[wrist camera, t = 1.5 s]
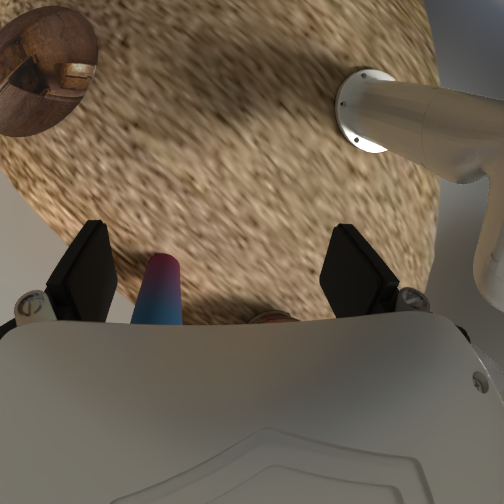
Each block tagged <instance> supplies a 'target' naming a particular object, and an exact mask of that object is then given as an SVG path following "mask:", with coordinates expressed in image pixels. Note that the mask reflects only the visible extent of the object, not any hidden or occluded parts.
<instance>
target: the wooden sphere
mask: <svg viewBox="0 0 504 504" xmlns="http://www.w3.org/2000/svg"><path fill="white" fill-rule="evenodd" d="M97 60H98V44H97V39H96V35H95V33H94V30H93V28H92V26H91V25H90V23H89V22H88V21H87V20H86V19H85V18H84V17H83V16H82V15H81V14H79V13H78V12H76V11H74V10H72V9H69V8H65V7H59V6H48V7H41V8H37V9H34V10H31V11H29V12H26V13H24V14H22V15H20V16H19V17H17V18H15V19H14V20H12V21H11V22H10V23H8V24H7V25H6V26H5V27H4V28H3V29H2V30H0V134H2V135H5V136H10V137H26V136H31V135H35V134H38V133H41V132H43V131H45V130H47V129H49V128H51V127H53V126H54V125H56V124H57V123H59V122H60V121H61V120H63V119H64V118H65V117H66V116H67V115H68V114H70V113H71V112H72V110H73V109H74V108H75V107H76V106H77V105H78V104H79V102H80V101H81V100H82V98H83V97H84V95H85V93H86V92H87V90H88V88H89V86H90V84H91V82H92V79H93V77H94V74H95V70H96V66H97Z"/></svg>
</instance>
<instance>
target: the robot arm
mask: <svg viewBox="0 0 504 504" xmlns="http://www.w3.org/2000/svg"><path fill="white" fill-rule="evenodd" d="M361 75H362V76H361ZM341 103H342V105H341ZM335 114H336V119H337V123H338V125H339V128H340V130H341V132H342V133H343V135H344V137H345V138H346V139H347V140H348V141H349V142H350V143H351V144H353V145H354V146H355V147H357V148H359V149H361V150H364V151H367V152H373V153H375V152H382V151H386V150H389V151H391V152H393V153H395V154H398V155H400V156H402V157H404V158H406V159H408V160H410V161H412V162H414V163H416V164H418V165H420V166H422V167H424V168H425V169H427V170H429V171H431V172H433V173H435V174H436V175H439V176H440V177H442V178H444V179H446V180H448V181H450V182H453V183H456V184H471V183H475V182H478V181H480V180H482V179H485V178H487V177H488V178H489V193H488V202H487V207H486V212H485V216H484V221H483V226H482V229H481V233H480V237H479V241H478V245H477V249H476V253H475V258H474V266H473V271H474V279H475V282H476V285H477V287H478V290H479V291H480V293H481V294H482V295H483V297H484V298H485V299H486V300H487V301H488V302H489V303H490V304H491V305H493V306H494V307H496V308H497V309H499V310H501V311H502V312H504V100H500V99H494V98H489V97H485V96H480V95H476V94H471V93H466V92H461V91H457V90H452V89H447V88H442V87H436V86H430V85H424V84H416V83H408V82H399V81H396V80H395V79H394V78H393V77H391V76H390V75H389V74H387V73H385V72H382V71H380V70H375V69H365V70H359V71H357V72H354V73H353V74H351V75H350V76H348V77H347V78H346V79H345V80H344V82H343V83H342V85H341V86H340V88H339V90H338V93H337V96H336V102H335ZM354 138H355V140H354ZM319 282H320V286H321V288H322V290H323V292H324V294H325V296H326V298H327V300H328V302H329V304H330V306H331V308H332V310H333V312H334V314H335V316H336V318H335V319H324V320H312V321H299V322H284V323H266V324H241V325H148V324H123V323H106V322H105V321H106V318H107V315H108V311H109V308H110V305H111V302H112V299H113V296H114V293H115V290H116V287H117V274H116V270H115V265H114V261H113V256H112V251H111V246H110V241H109V235H108V230H107V225H106V224H105V223H103V222H102V221H101V220H88V221H87V222H86V223H85V225H84V226H83V228H82V229H81V230H80V232H79V233H78V235H77V236H76V237H75V239H74V240H73V242H72V243H71V245H70V246H69V248H68V249H67V251H66V252H65V254H64V255H63V257H62V258H61V260H60V262H59V263H58V265H57V266H56V268H55V269H54V271H53V273H52V274H51V276H50V278H49V279H48V281H47V283H46V285H47V288H46V289H45V291H44V292H43V291H40V290H34V291H30V292H27V293H26V294H24V295H23V296H21V298H19V300H18V301H17V302H16V304H15V307H14V314H15V318H14V319H12V320H10V321H9V322H7V323H5V324H4V325H2V326H0V504H504V403H503V401H502V399H501V393H502V389H503V385H504V373H503V371H502V369H501V368H500V367H499V366H498V365H497V364H496V363H495V362H494V361H493V360H491V359H490V358H489V357H488V356H486V355H485V354H484V353H483V352H482V351H481V350H479V349H478V348H477V347H476V346H475V345H472V346H471V345H470V344H471V343H470V339H469V336H468V335H467V332H466V331H465V330H464V329H463V328H462V327H459V326H457V325H455V324H453V323H452V322H451V321H450V320H449V319H447V318H444V317H442V316H439V315H436V314H433V313H431V312H430V302H429V300H428V298H427V297H426V296H425V295H424V294H423V293H422V292H420V291H418V290H417V289H414V288H411V287H404V288H402V289H400V291H399V290H398V288H397V287H398V285H399V282H400V281H399V280H398V279H397V277H396V276H395V275H394V274H393V272H392V271H391V270H390V269H389V267H388V266H387V265H386V264H385V262H384V261H383V260H382V259H381V257H380V256H379V255H378V254H377V253H376V251H375V250H374V249H373V248H372V247H371V245H370V244H369V243H368V242H367V241H366V240H365V238H364V237H363V236H362V235H361V234H360V233H359V231H358V230H357V229H356V228H355V227H354V226H353V225H352V224H338V226H337V227H334V229H333V232H332V236H331V239H330V243H329V246H328V250H327V254H326V257H325V260H324V264H323V267H322V271H321V274H320V278H319Z"/></svg>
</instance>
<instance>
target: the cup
mask: <svg viewBox="0 0 504 504" xmlns="http://www.w3.org/2000/svg"><path fill="white" fill-rule="evenodd" d="M130 324H148V325H183V323H182V307H181V289H180V266H179V263H178V261H177V260H176V259H175V258H174V257H173V256H171V255H168V254H157V255H155V256H153V257H152V258H151V259H150V261H149V263H148V266H147V269H146V272H145V275H144V278H143V281H142V285H141V288H140V291H139V294H138V298H137V301H136V305H135V308H134V312H133V315H132V319H131V322H130Z"/></svg>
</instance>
